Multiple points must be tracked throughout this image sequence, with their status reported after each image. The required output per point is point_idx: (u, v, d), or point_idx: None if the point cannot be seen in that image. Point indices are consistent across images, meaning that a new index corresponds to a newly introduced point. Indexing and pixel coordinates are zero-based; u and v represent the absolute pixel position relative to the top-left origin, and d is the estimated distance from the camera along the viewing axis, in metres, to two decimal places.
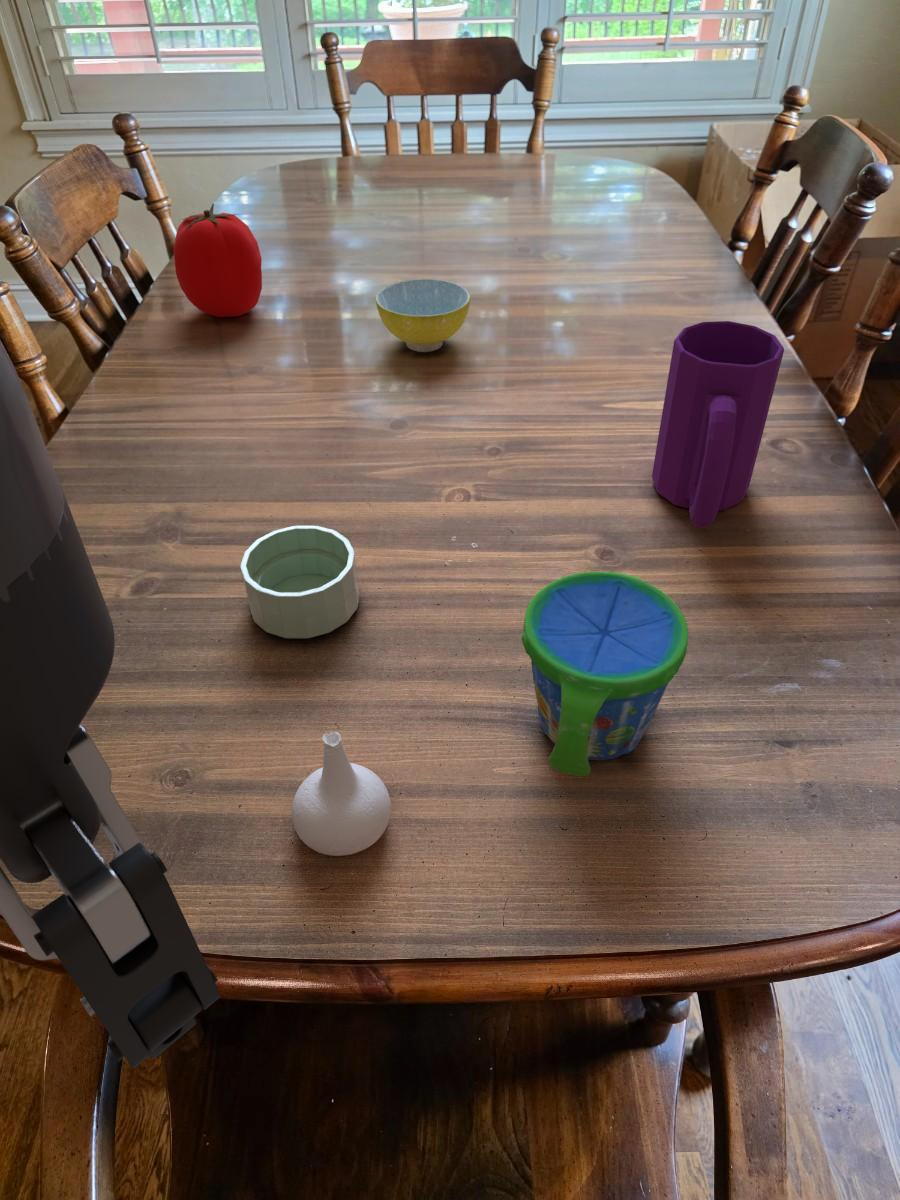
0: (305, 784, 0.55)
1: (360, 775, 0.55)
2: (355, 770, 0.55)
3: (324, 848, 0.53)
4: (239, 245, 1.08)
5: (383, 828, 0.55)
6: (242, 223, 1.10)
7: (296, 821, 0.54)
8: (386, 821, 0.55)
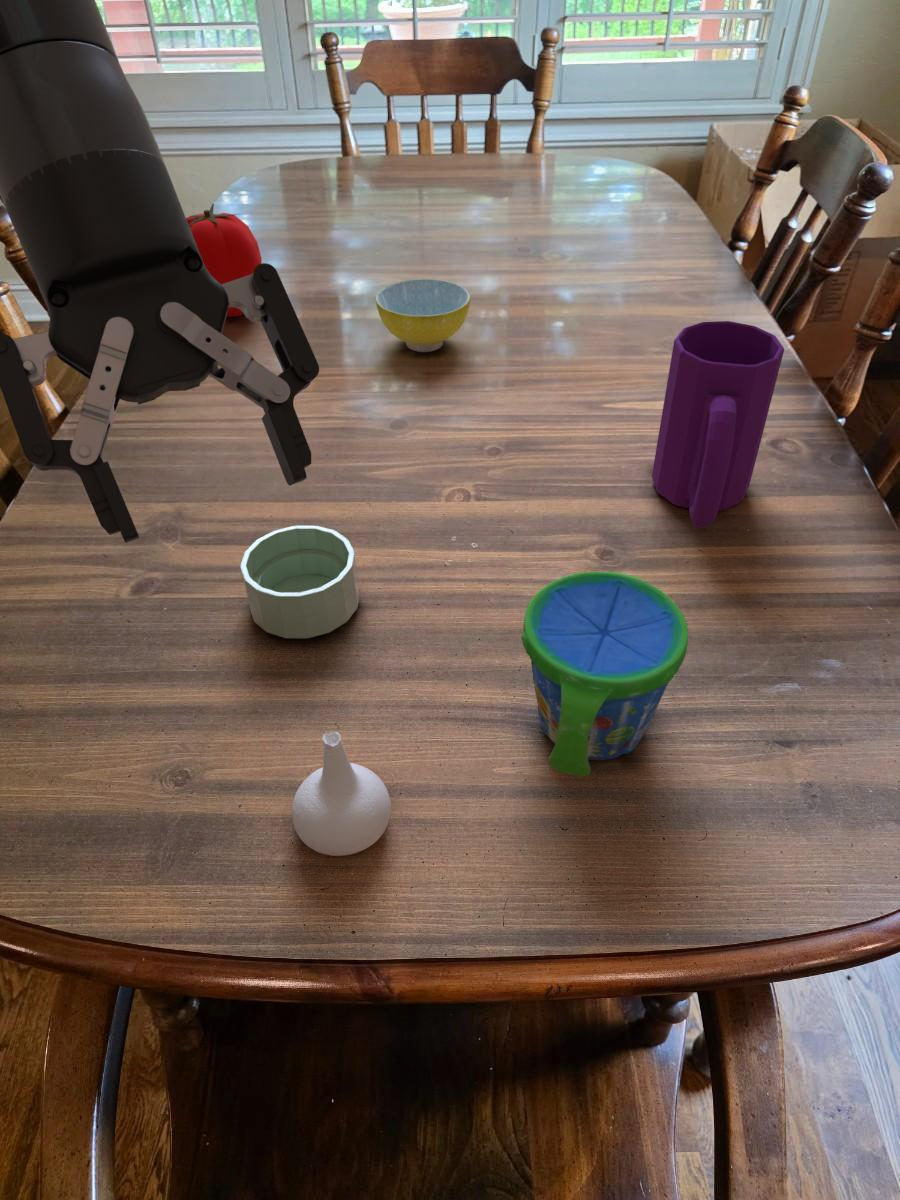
0: (305, 784, 0.55)
1: (360, 775, 0.55)
2: (355, 770, 0.55)
3: (324, 848, 0.53)
4: (239, 245, 1.08)
5: (383, 828, 0.55)
6: (242, 223, 1.10)
7: (296, 821, 0.54)
8: (386, 821, 0.55)
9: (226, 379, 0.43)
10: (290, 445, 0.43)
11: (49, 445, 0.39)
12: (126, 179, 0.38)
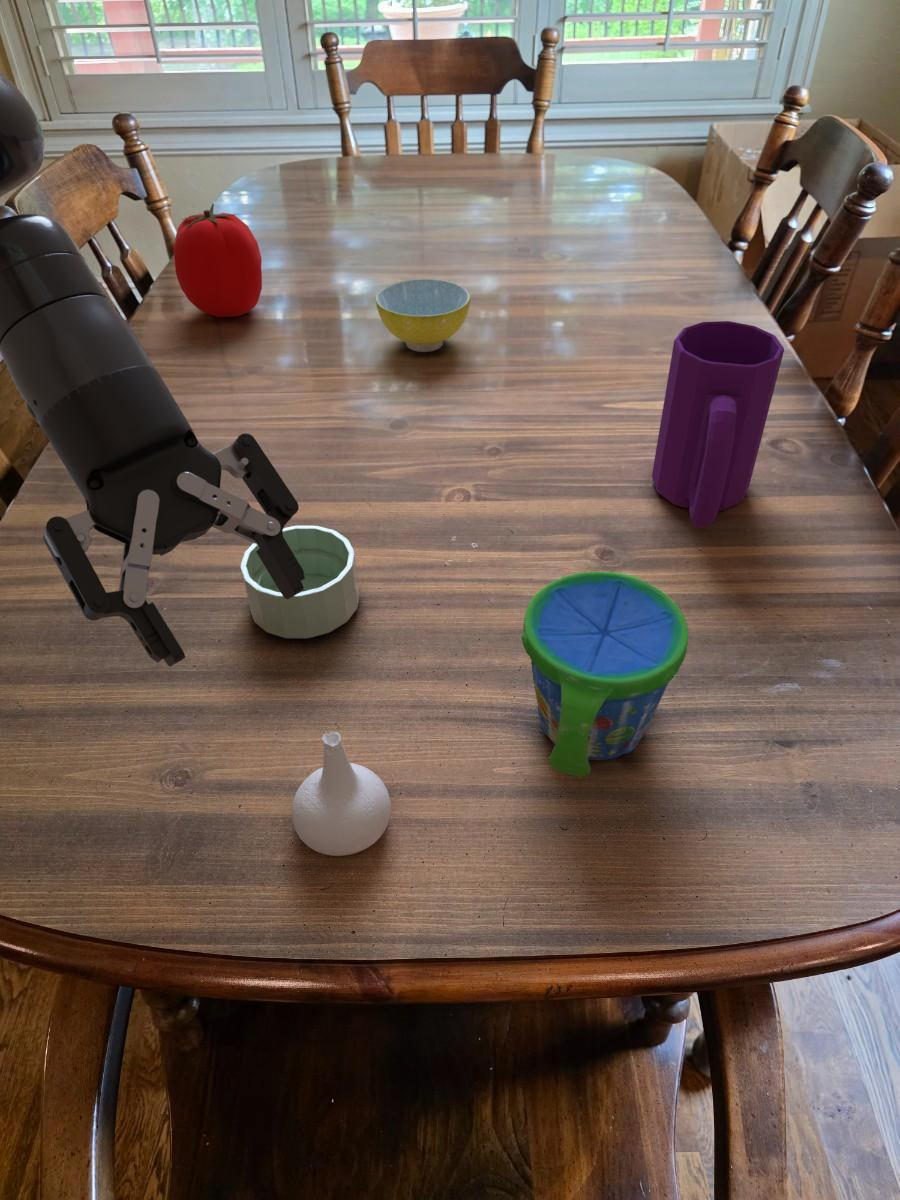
0: (305, 784, 0.55)
1: (360, 775, 0.55)
2: (355, 770, 0.55)
3: (324, 848, 0.53)
4: (239, 245, 1.08)
5: (383, 828, 0.55)
6: (242, 223, 1.10)
7: (296, 822, 0.54)
8: (386, 821, 0.55)
9: (226, 525, 0.55)
10: (287, 566, 0.54)
11: (106, 597, 0.49)
12: (142, 387, 0.50)
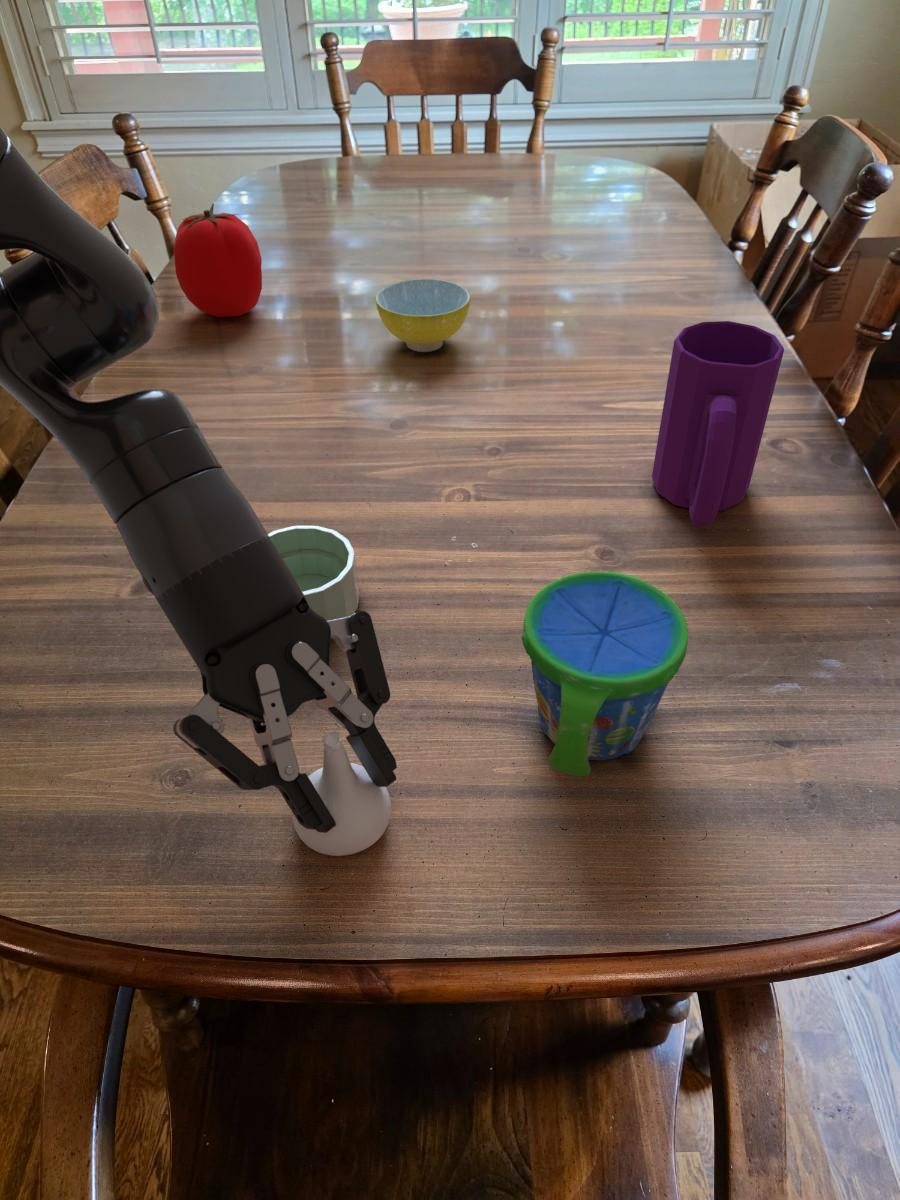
0: None
1: (361, 775, 0.55)
2: (355, 770, 0.55)
3: (324, 848, 0.53)
4: (239, 245, 1.08)
5: (383, 828, 0.55)
6: (242, 223, 1.10)
7: (296, 822, 0.54)
8: (386, 821, 0.55)
9: (322, 701, 0.54)
10: (381, 758, 0.53)
11: (264, 772, 0.50)
12: (260, 563, 0.49)
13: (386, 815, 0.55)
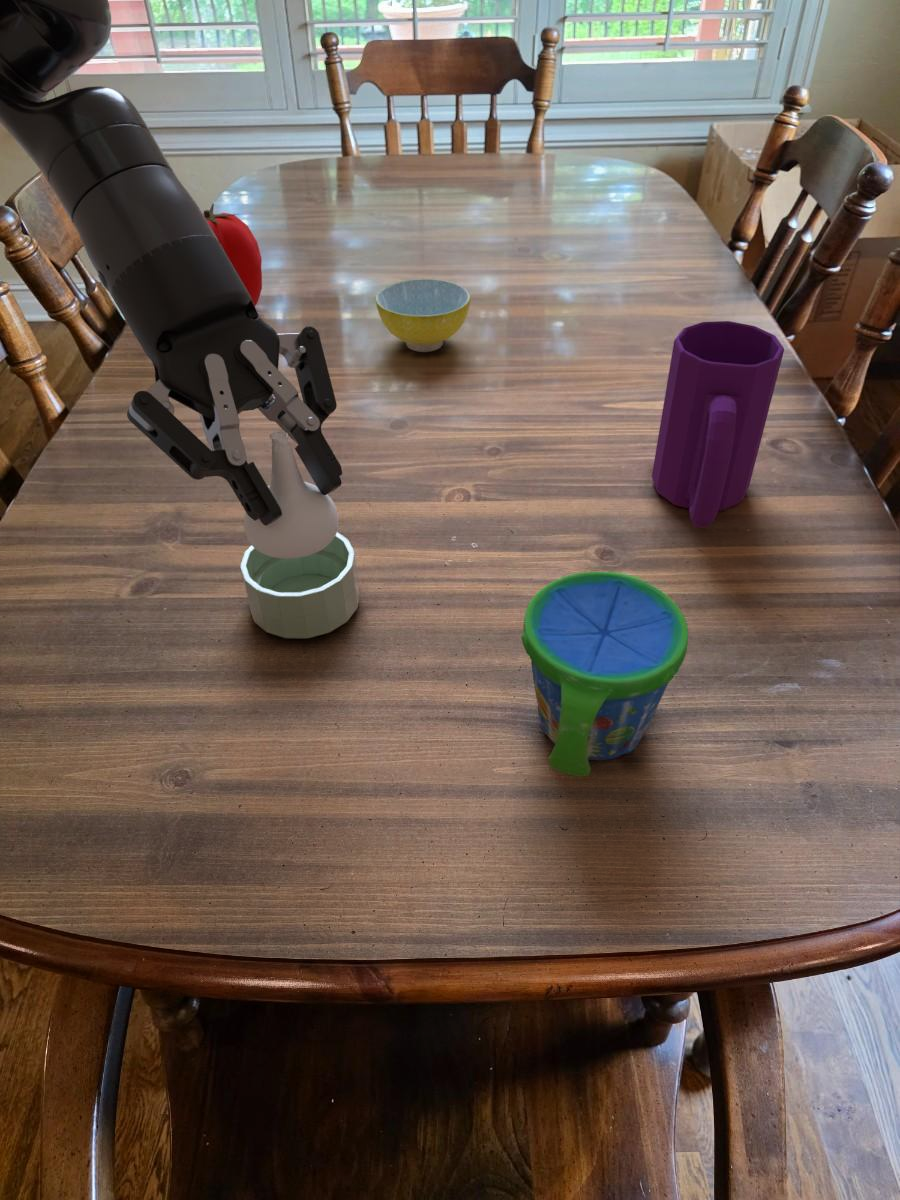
0: None
1: (309, 486, 0.58)
2: (304, 482, 0.58)
3: (273, 546, 0.56)
4: (239, 245, 1.08)
5: (330, 534, 0.57)
6: (242, 223, 1.10)
7: (247, 525, 0.57)
8: (333, 528, 0.58)
9: (271, 409, 0.56)
10: (326, 461, 0.56)
11: (212, 453, 0.52)
12: (209, 254, 0.52)
13: (333, 522, 0.58)
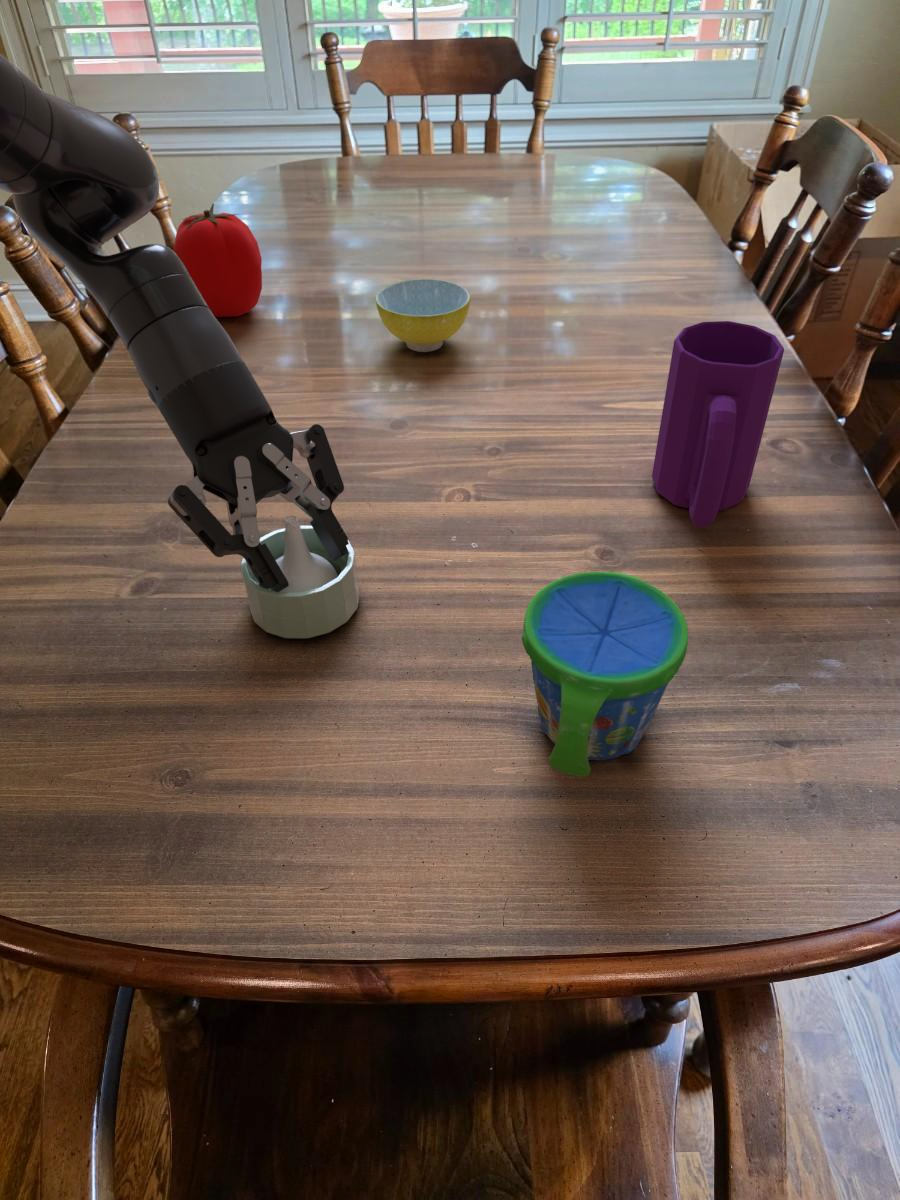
0: None
1: (315, 557, 0.71)
2: (311, 554, 0.71)
3: None
4: (239, 245, 1.08)
5: None
6: (242, 223, 1.10)
7: None
8: None
9: (289, 493, 0.69)
10: (336, 534, 0.69)
11: (232, 538, 0.65)
12: (238, 377, 0.65)
13: None
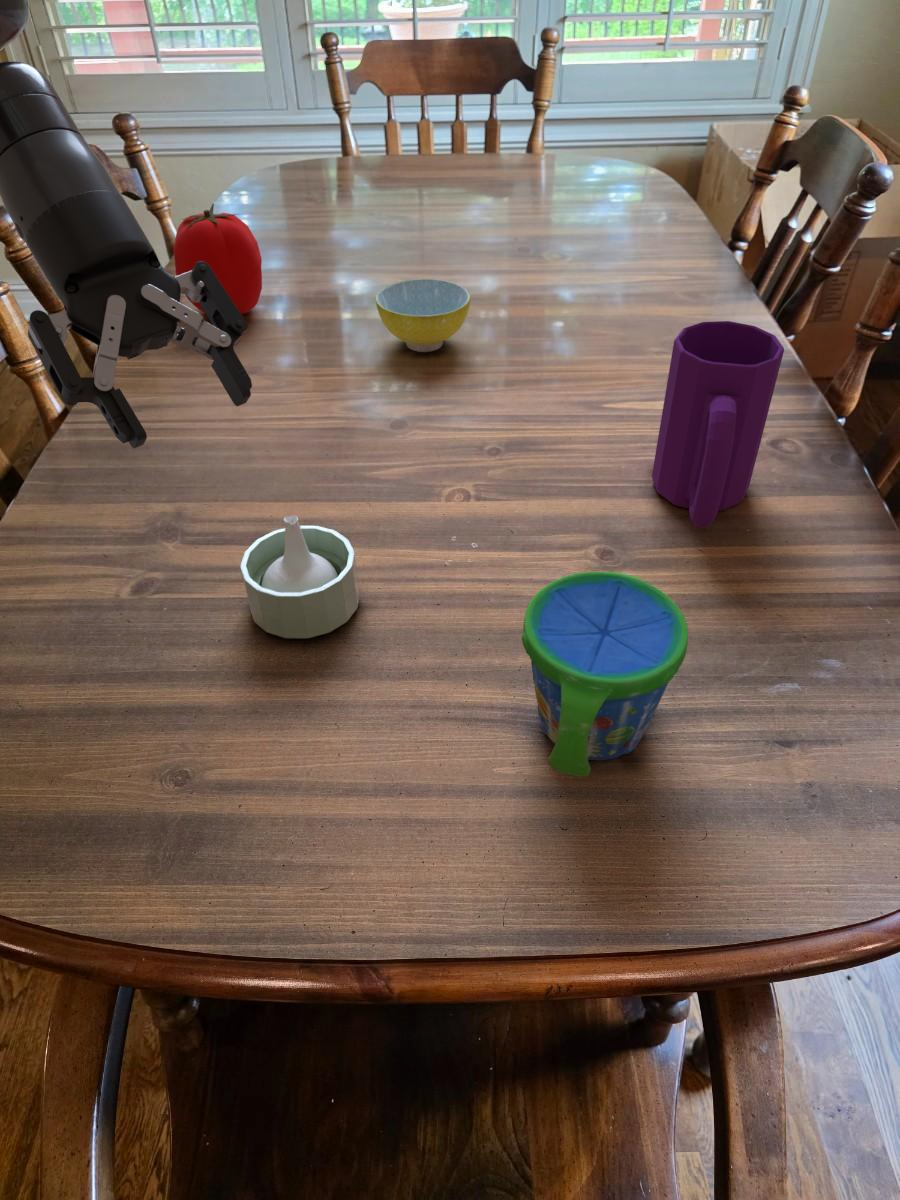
0: (272, 564, 0.71)
1: (315, 557, 0.71)
2: (311, 554, 0.71)
3: None
4: (239, 245, 1.08)
5: None
6: (242, 223, 1.10)
7: None
8: None
9: (185, 338, 0.64)
10: (237, 373, 0.64)
11: (80, 379, 0.58)
12: (111, 207, 0.59)
13: None
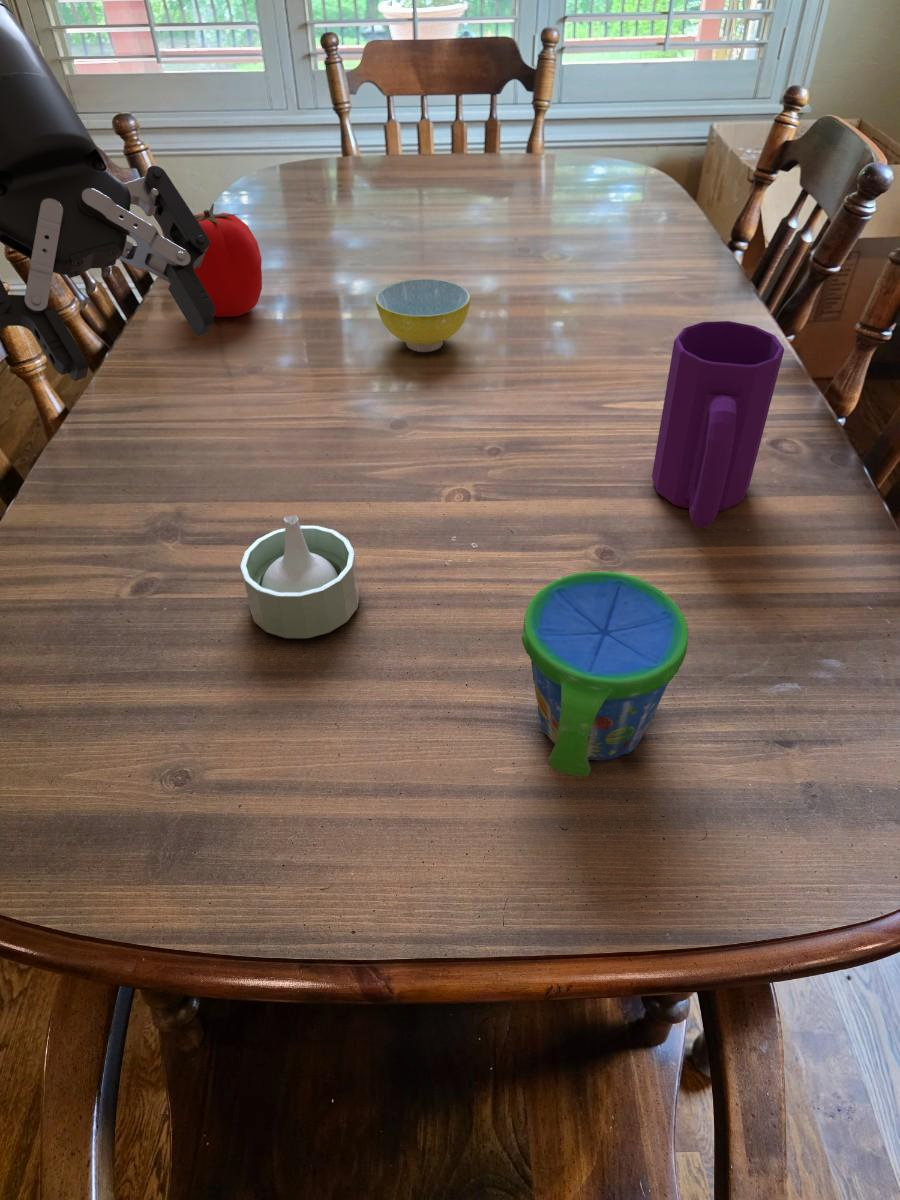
0: (272, 564, 0.71)
1: (315, 557, 0.71)
2: (311, 554, 0.71)
3: None
4: (239, 245, 1.08)
5: None
6: (242, 223, 1.10)
7: None
8: None
9: (136, 256, 0.55)
10: (197, 296, 0.55)
11: (7, 296, 0.49)
12: (44, 93, 0.50)
13: None
